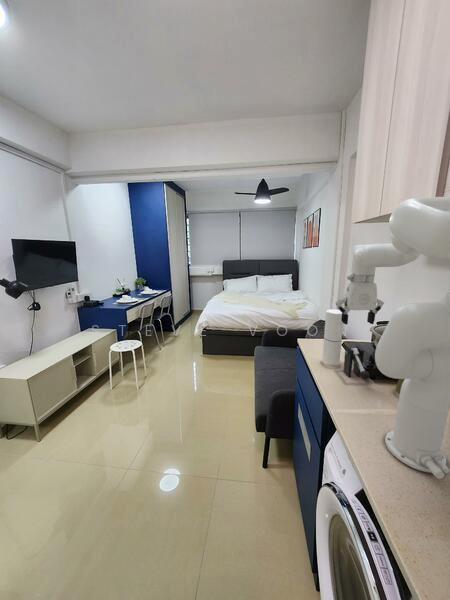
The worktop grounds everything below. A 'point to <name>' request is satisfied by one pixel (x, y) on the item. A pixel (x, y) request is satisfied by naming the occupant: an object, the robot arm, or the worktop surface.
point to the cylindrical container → (332, 337)
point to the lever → (360, 365)
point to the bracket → (349, 360)
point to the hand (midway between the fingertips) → (357, 323)
